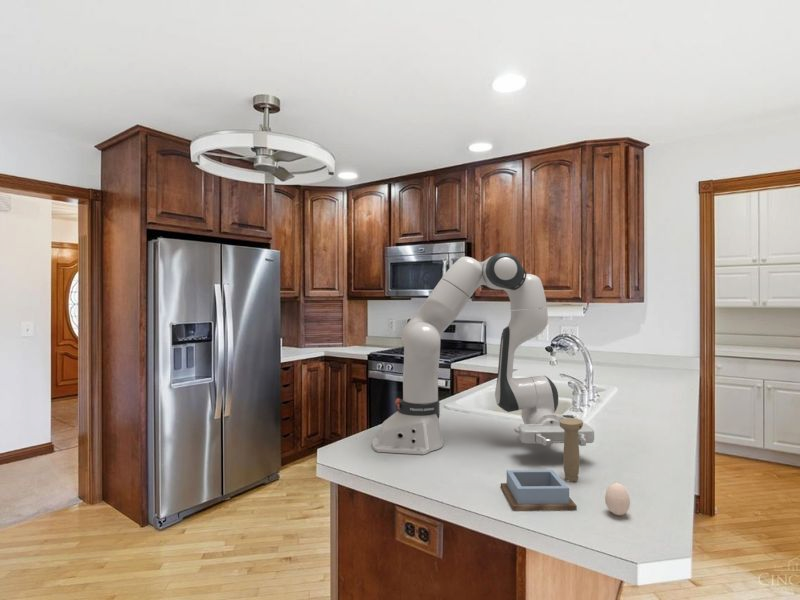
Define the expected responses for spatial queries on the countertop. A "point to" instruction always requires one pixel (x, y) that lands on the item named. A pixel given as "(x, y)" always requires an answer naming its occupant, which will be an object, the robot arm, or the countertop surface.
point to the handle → (571, 448)
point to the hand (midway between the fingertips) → (565, 443)
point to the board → (534, 506)
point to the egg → (617, 499)
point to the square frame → (537, 487)
